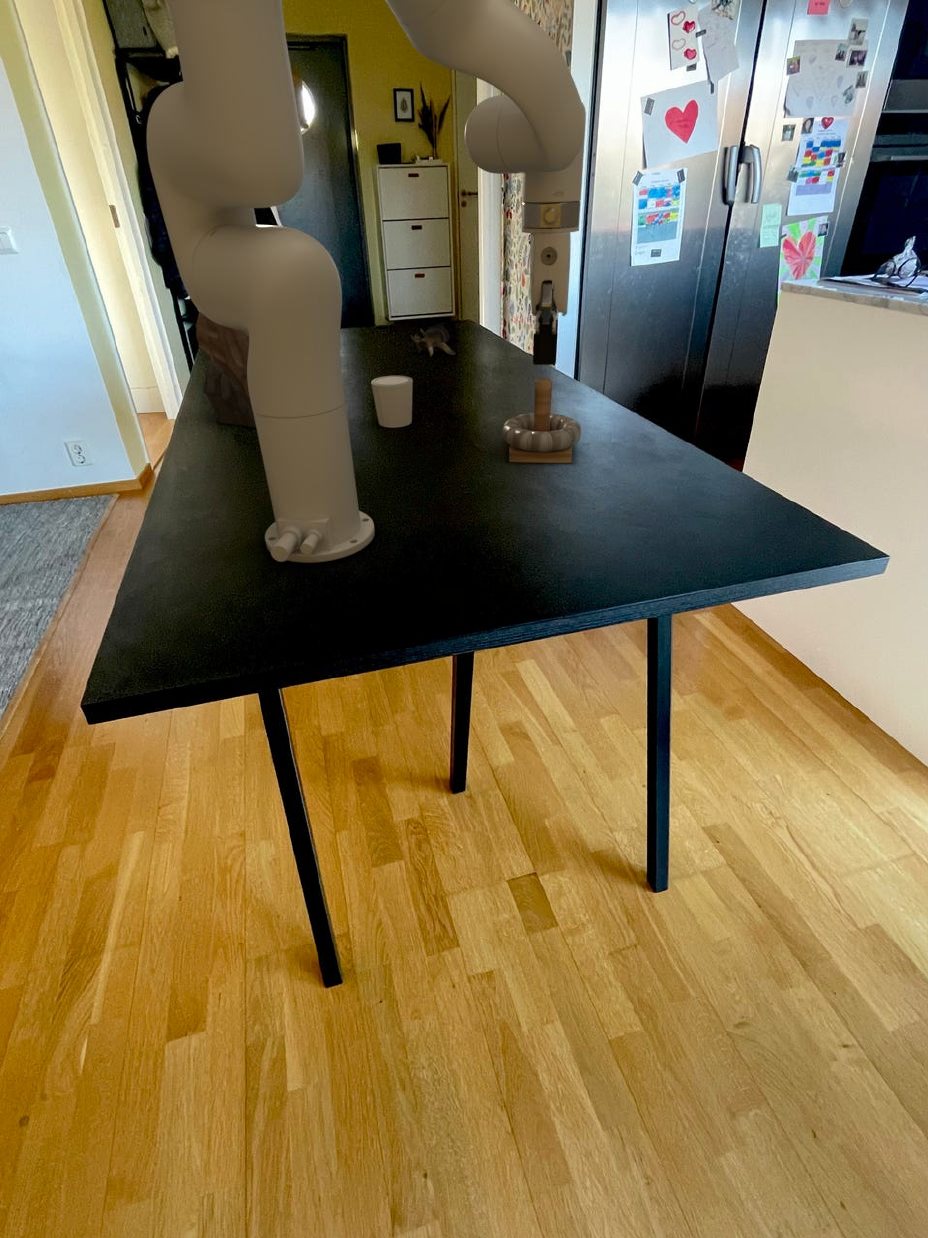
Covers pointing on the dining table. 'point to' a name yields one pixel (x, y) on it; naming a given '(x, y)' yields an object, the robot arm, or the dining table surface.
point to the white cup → (393, 400)
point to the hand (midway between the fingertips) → (544, 355)
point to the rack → (541, 428)
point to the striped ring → (541, 433)
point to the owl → (226, 371)
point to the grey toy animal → (433, 339)
